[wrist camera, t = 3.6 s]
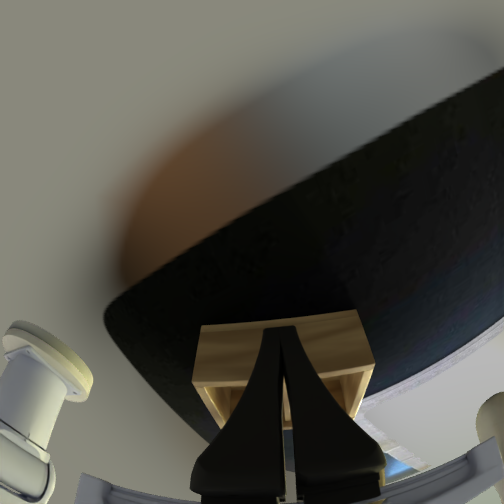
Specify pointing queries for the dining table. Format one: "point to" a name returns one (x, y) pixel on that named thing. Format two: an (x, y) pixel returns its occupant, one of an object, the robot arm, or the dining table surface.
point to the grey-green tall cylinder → (493, 428)
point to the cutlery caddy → (322, 359)
